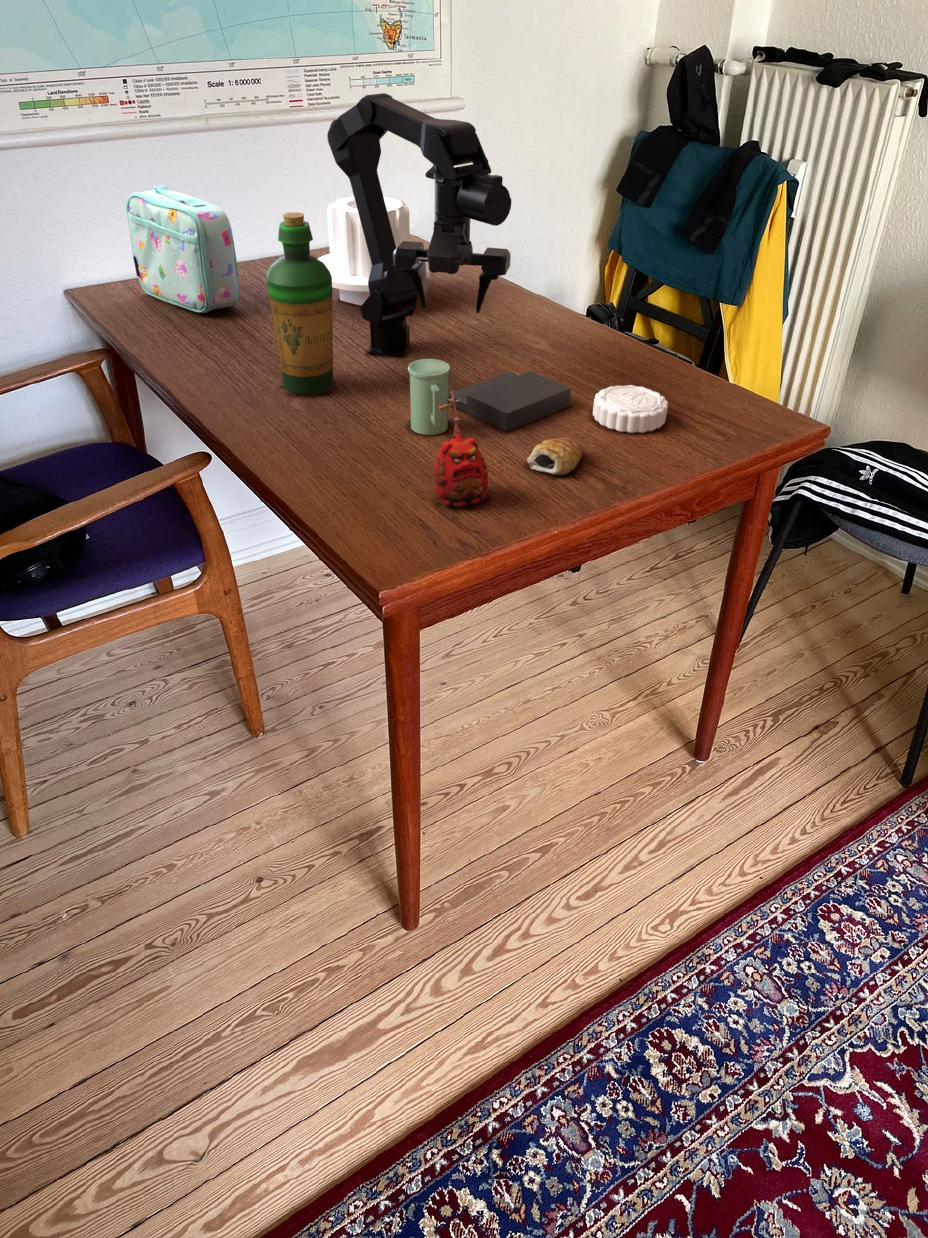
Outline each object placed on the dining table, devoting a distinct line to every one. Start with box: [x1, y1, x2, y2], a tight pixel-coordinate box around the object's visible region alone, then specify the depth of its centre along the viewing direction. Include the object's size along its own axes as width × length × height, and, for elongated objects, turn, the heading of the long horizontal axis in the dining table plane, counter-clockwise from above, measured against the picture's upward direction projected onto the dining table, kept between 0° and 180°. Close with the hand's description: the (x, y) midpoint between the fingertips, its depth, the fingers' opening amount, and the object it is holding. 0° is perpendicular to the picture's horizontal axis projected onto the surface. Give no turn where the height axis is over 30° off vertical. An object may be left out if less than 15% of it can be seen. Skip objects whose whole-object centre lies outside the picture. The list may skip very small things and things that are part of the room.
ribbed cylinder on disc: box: [317, 195, 432, 307], centre depth 188 cm, size 25×25×19 cm
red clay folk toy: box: [434, 390, 489, 508], centre depth 123 cm, size 8×7×15 cm
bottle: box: [265, 211, 334, 396], centre depth 148 cm, size 11×11×28 cm
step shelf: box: [448, 370, 572, 432], centre depth 152 cm, size 14×15×3 cm
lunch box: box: [126, 184, 240, 314], centre depth 183 cm, size 27×10×21 cm, turn 49°
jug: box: [407, 358, 451, 436], centre depth 142 cm, size 9×6×10 cm
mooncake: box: [592, 384, 669, 434], centre depth 148 cm, size 12×12×4 cm
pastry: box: [526, 437, 584, 476], centre depth 135 cm, size 9×7×4 cm
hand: (451, 310), depth 154 cm, fingers open, 9 cm apart
